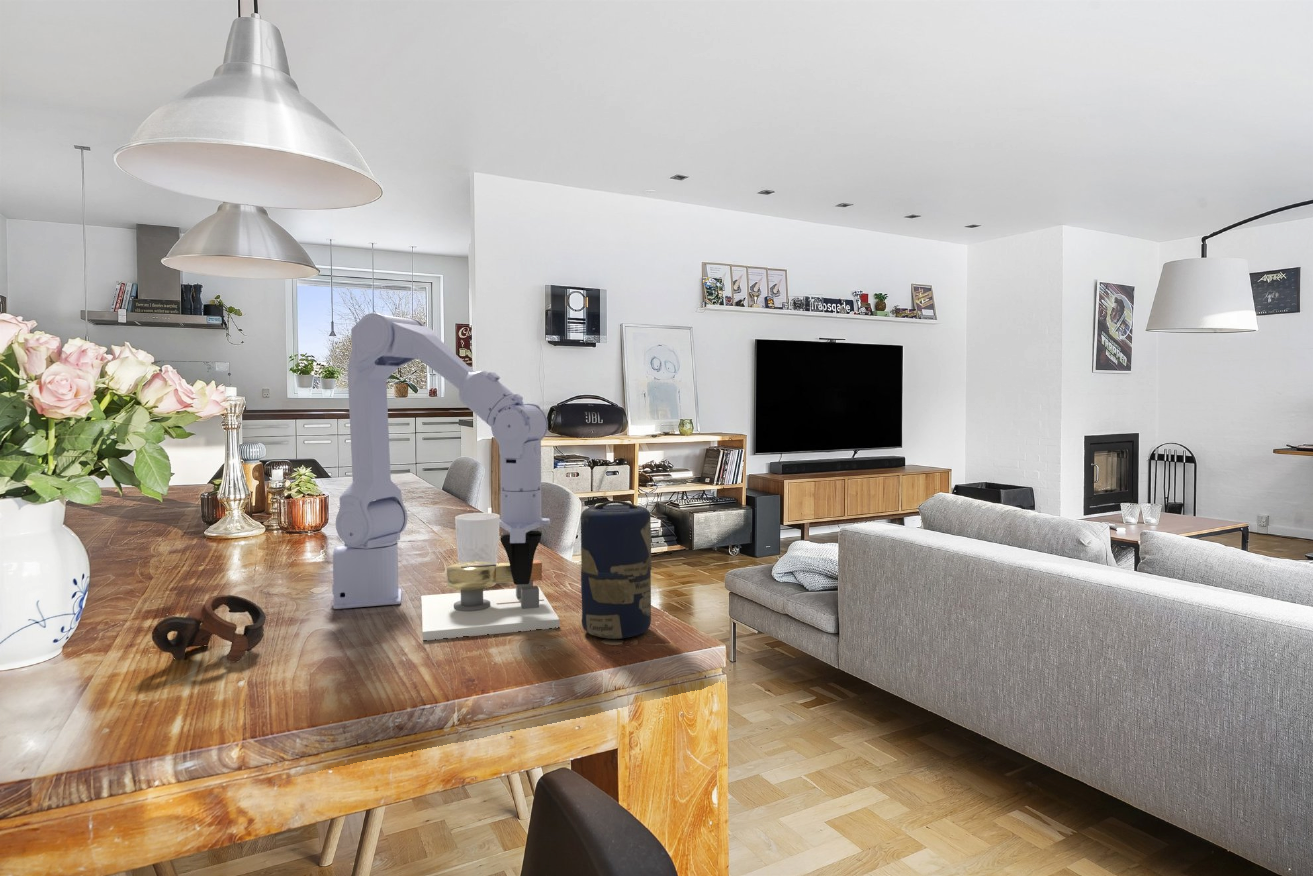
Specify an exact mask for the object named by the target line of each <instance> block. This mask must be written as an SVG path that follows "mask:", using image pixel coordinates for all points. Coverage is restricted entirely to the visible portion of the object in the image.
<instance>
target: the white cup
mask: <svg viewBox="0 0 1313 876" xmlns="http://www.w3.org/2000/svg"><path fill="white" fill-rule="evenodd" d="M500 520H501V514H499V513H498V514H497V513H493V512H470V513H468V512H467V513H462V514H459V515H456V516H455V517H454V523H455V524H454V525H455V537H456V538H455V542H456V552H457V553H456V554H457V555H456V556H457V559H458V563H462V562H490V563H493V564H497V563H498V556H499V555H498V554H499V545H500Z"/></svg>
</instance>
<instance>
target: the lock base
mask: <svg viewBox="0 0 1313 876" xmlns="http://www.w3.org/2000/svg"><path fill="white" fill-rule="evenodd" d="M420 597H421V600H420V601H421V623H422V624H421V625H422V627H421V630H422V631H421V632H422V641H423V640H427V641H436V640H444V639H443V638H448V639H455V638H456V637H458V638H464V637H463V636H469V637H475V636H476V637H479V636H488V635H487V634H489V635H498V634H506V633H507V634H509V633H518V631H521V632H529V631H530V630H531V631H537V630H536V629H542V630H550V629H549V628H552V629H559V628H558V627H561V626H560V618H559V616H558V614H557V613H556V612H555V610H554V609H553V608H554V607H552V605H551V603H550V602H549V600H548V599H547V597H546V596H545V594H544V592H543V590H541V588H540V586H538V585H534V581H530V582H529V584H519V585H515V588H504V589H492V590H491V589H490V590H489V589H488V590H484V589H479V590H460V592H456V593H455V592H453V593H451V592H450V593H442V594H430V595H429V594H428V595H421V596H420ZM555 627H556V628H555ZM435 639H436V640H435ZM456 639H457V638H456Z"/></svg>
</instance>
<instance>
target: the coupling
mask: <svg viewBox="0 0 1313 876" xmlns="http://www.w3.org/2000/svg"><path fill="white" fill-rule="evenodd" d="M530 581H533V582H534V581H535V582H536V581H537V582H538V581H543V563H542V561H541V560H540V559H533V566H532V573H531V578H530ZM507 583H508V584H509V583H514V581H513V578H512V573H511V568H510V563H509V562H499V563H498V562H497V564H493V563H490V562H462V563H459V562H458V563H457V562H456V563H453V564H450V565H449V566H447V567H446V587H447V588H449V589H450V590H455V591H456V590H457V591H461V590H479V589H483V590H485V589H488V588H492V587H494V586H495V585H496V584H507Z"/></svg>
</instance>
